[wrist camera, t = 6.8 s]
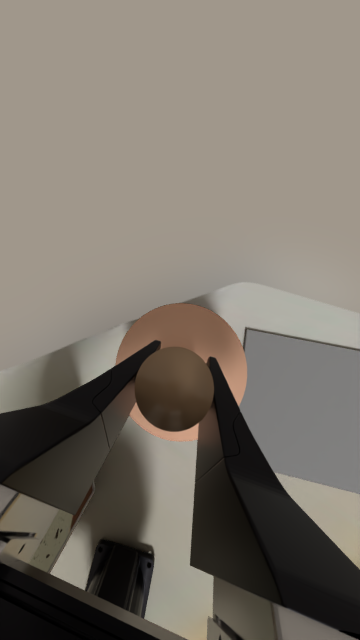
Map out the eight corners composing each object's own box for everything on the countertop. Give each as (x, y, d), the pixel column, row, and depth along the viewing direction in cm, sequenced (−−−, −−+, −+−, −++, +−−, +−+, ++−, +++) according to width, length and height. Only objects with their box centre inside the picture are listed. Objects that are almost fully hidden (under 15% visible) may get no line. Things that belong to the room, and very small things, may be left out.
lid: (266, 402, 15) (424, 500, 5) (143, 458, 14) (50, 696, 4) (211, 289, 17) (244, 210, 8) (104, 332, 17) (-7, 304, 7)
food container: (39, 407, 20) (-101, 462, 10) (84, 395, 20) (-11, 438, 10) (45, 519, 18) (-129, 732, 8) (97, 505, 18) (-12, 696, 8)
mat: (372, 494, 17) (376, 498, 17) (230, 458, 18) (231, 461, 18) (367, 353, 20) (371, 353, 20) (246, 329, 21) (247, 329, 21)
